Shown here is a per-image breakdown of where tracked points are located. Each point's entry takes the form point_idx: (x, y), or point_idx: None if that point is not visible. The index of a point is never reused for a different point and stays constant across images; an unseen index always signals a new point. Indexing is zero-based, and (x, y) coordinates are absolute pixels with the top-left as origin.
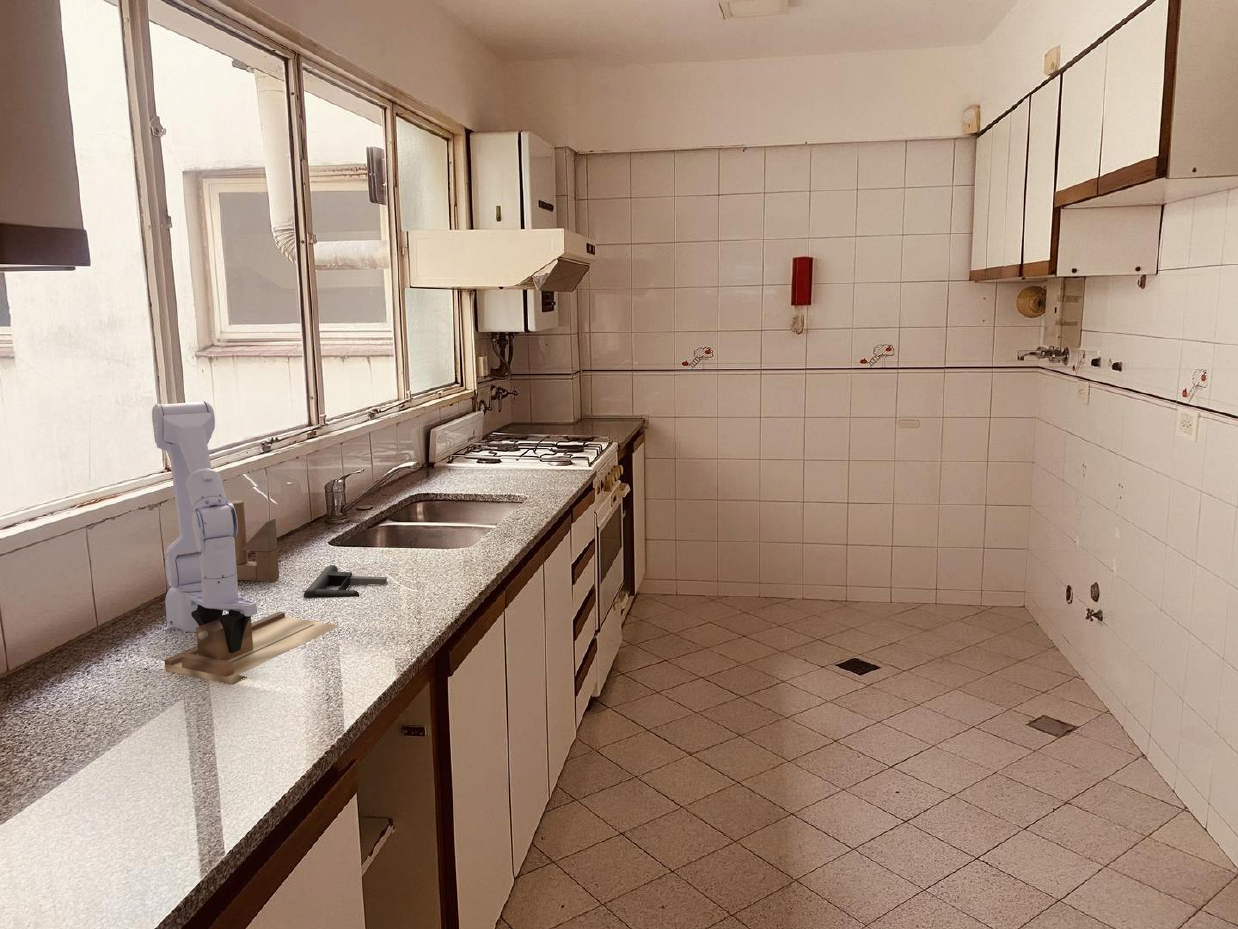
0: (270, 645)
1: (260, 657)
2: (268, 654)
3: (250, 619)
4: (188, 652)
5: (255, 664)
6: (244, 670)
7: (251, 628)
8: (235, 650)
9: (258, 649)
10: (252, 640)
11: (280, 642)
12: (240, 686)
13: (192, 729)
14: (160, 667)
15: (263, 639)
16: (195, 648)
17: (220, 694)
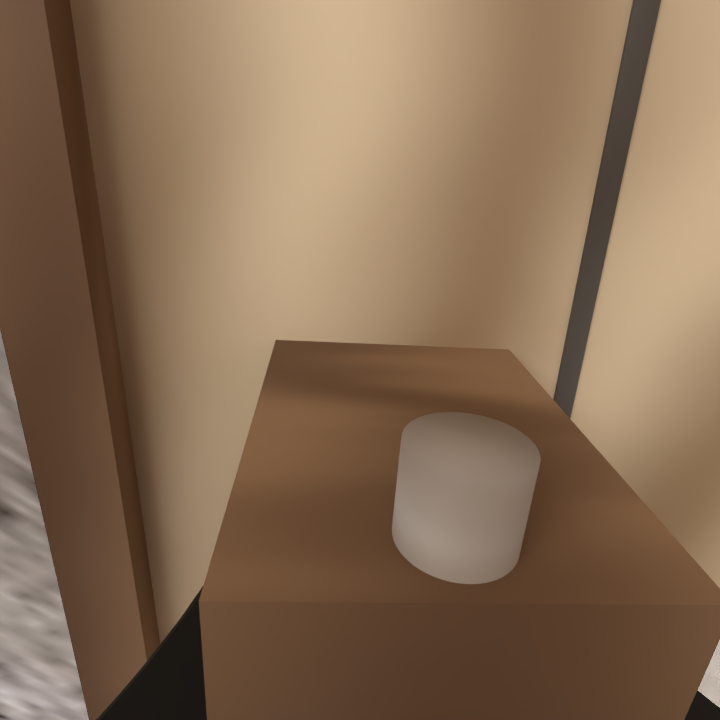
0: (619, 214)
1: (681, 465)
2: (718, 399)
3: (697, 580)
4: (129, 664)
5: (712, 565)
6: None
7: (606, 465)
8: None
9: (570, 348)
10: (539, 385)
11: (679, 94)
12: (702, 685)
13: None
14: (48, 679)
15: (433, 83)
16: (96, 597)
17: None
